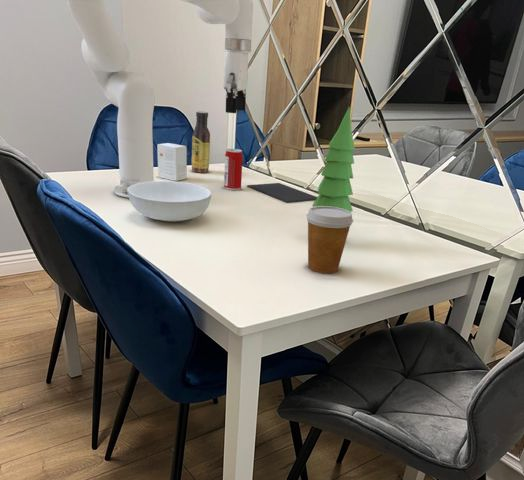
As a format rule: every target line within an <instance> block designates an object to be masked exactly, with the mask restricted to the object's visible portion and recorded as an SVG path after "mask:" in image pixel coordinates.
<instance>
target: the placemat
mask: <svg viewBox="0 0 524 480" xmlns="http://www.w3.org/2000/svg"><path fill="white" fill-rule="evenodd" d="M247 188H250V189H252V190H255V191H257V192H259V193H262V194H264V195H267V196H269V197H272V198H274V199H277V200H279V201H282V202H284V203H286V204H289V203H290V204H291V203H301V202H311V201H315V200H316V199H317V197H318V196H315V195H313V194H310V193H307V192H304V191H303V190H300V189H296V188H294V187H291V186H289V185H286V184H283V183H281V182H272V183H259V184H247Z"/></svg>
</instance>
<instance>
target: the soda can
mask: <svg viewBox="0 0 524 480" xmlns="http://www.w3.org/2000/svg"><path fill="white" fill-rule="evenodd" d="M243 158H244V156H243V150H242V149H239V148H227V149H226V150H225V154H224V175H223V177H224V178H223V188H225V190H230V191H239V190H241V189H242V179H243V176H242V175H243V160H244V159H243Z"/></svg>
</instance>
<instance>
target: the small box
mask: <svg viewBox="0 0 524 480" xmlns="http://www.w3.org/2000/svg"><path fill="white" fill-rule="evenodd" d="M156 147H157V148H156V149H157V150H156V151H157V176H158V178H160V179H166V180H168V181H173V182H179V181H182V180H186V179H188V169H187V168H188V167H187V166H188V165H187V164H188V163H187V162H188V161H187V156H188V155H187V151H188V150H187V145H182V144H177V143H170V142H165V143H158V144H157V145H156Z"/></svg>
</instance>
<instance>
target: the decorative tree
mask: <svg viewBox="0 0 524 480" xmlns="http://www.w3.org/2000/svg"><path fill="white" fill-rule="evenodd" d="M340 122H341V123H340V125H339V127H338V129H337V131H336V133H335V134H334V136H333V137H332V139H330V142H329V143H328V147H329V149H328V151H327V154H326V156H325V158H324V161H325V162H326V163H325V165H324V167H323V169H322V171H321V173H320V175H321V176H322V179H321V182H320V183H319V185H318V189H317V194H318V195H317V196H316V197H317V199H316V200H314V202H313V203H312V207H315V206H331V207H338V208H342V209H345V210H348V211H350V212H351V213H352V212H353V207H352V204H351V201H350V198H349V196H353V195H354V192H353V189H352V184H351V180H350V179H354V174H353V168H352V167H353V166H352V165H354V164H355V160H354V159H355V158H354V154H353V150H356V148H355V147H356V146H355V143H354V138H353V132H352V119H351V107H350V106H348V108H347V109H346V112H345V114H344V117H343V118H342V121H340Z"/></svg>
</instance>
